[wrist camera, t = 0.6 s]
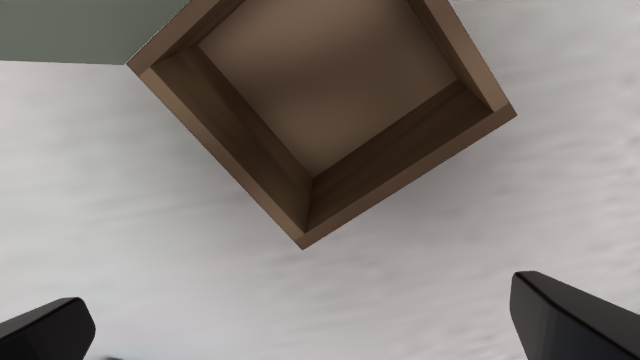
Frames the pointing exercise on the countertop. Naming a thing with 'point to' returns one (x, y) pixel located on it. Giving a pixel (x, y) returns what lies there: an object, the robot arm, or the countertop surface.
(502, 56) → the countertop surface
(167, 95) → the walnut box
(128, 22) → the box lid
